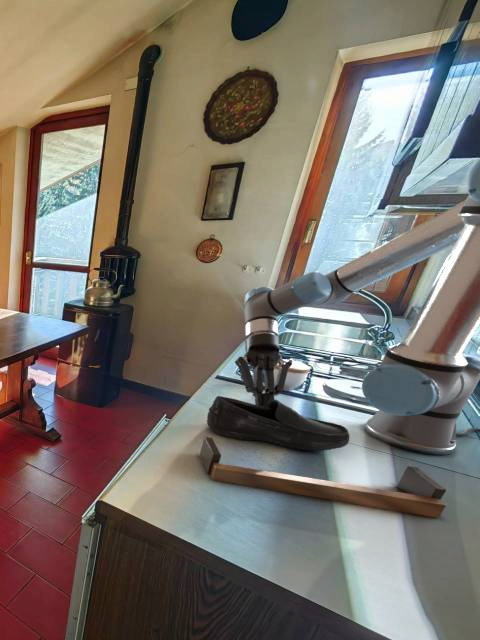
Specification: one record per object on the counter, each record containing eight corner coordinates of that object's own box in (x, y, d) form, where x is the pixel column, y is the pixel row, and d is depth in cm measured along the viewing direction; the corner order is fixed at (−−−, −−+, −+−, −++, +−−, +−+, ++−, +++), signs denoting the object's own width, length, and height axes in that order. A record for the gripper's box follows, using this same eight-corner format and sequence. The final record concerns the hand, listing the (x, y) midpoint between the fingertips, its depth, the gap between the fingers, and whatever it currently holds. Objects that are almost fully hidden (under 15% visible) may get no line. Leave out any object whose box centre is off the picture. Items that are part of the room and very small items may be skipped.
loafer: (353, 460, 89) (371, 420, 85) (211, 441, 95) (222, 404, 92) (327, 437, 98) (343, 400, 94) (200, 421, 105) (210, 387, 101)
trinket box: (254, 380, 133) (262, 354, 129) (282, 379, 134) (291, 353, 130) (280, 393, 123) (290, 365, 119) (311, 392, 124) (321, 364, 121)
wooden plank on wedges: (405, 487, 79) (416, 467, 78) (441, 518, 71) (455, 496, 69) (199, 455, 90) (204, 436, 88) (209, 479, 81) (215, 459, 79)
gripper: (281, 347, 110) (287, 426, 102) (229, 343, 114) (230, 418, 106) (296, 334, 104) (303, 417, 96) (240, 329, 107) (242, 409, 99)
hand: (265, 418), depth 101 cm, fingers closed
